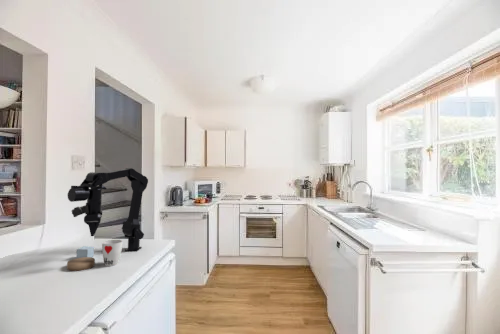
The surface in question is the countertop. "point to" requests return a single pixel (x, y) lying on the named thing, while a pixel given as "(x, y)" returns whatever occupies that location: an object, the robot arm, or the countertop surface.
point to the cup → (111, 251)
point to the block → (85, 252)
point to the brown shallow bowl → (80, 264)
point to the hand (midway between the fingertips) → (93, 233)
